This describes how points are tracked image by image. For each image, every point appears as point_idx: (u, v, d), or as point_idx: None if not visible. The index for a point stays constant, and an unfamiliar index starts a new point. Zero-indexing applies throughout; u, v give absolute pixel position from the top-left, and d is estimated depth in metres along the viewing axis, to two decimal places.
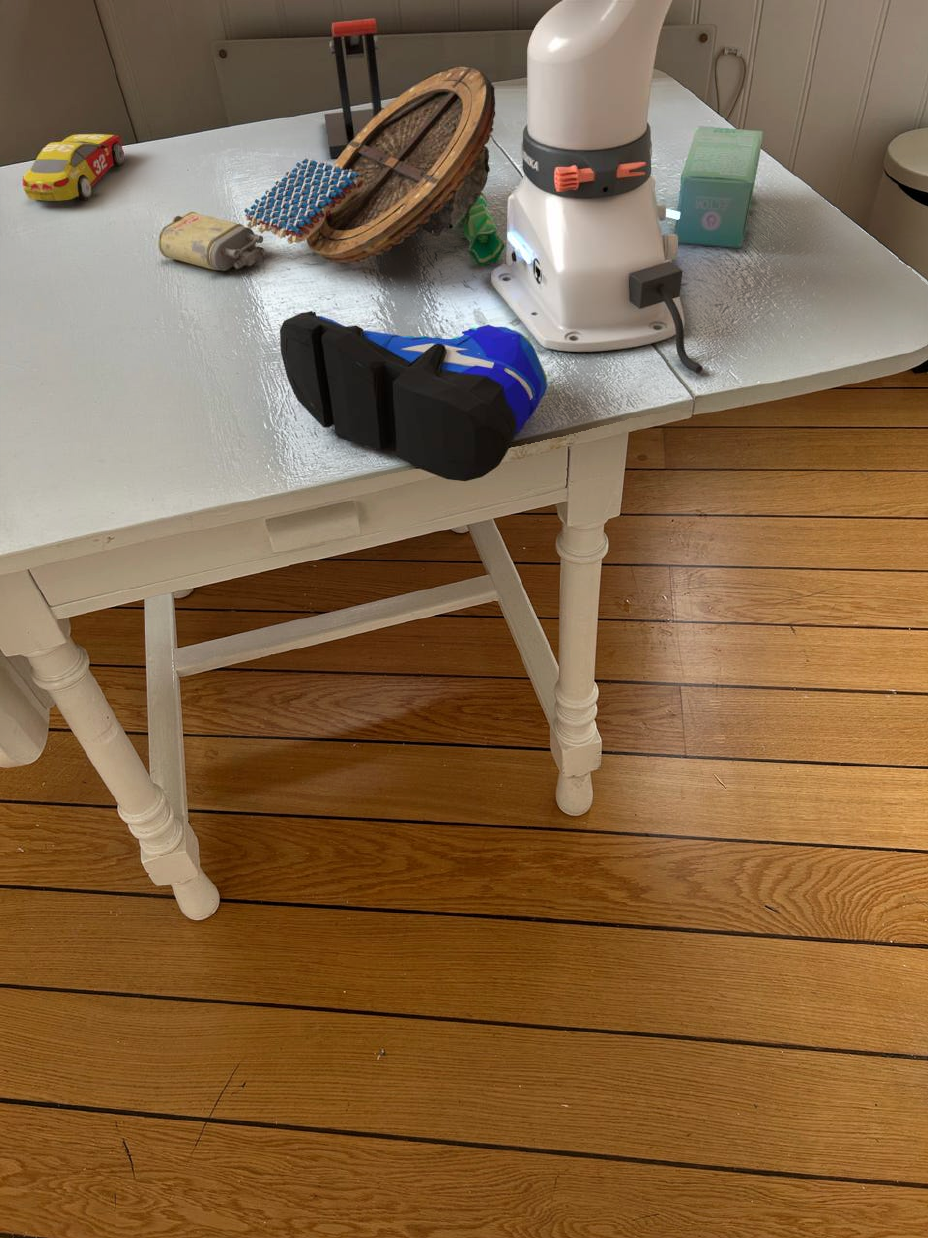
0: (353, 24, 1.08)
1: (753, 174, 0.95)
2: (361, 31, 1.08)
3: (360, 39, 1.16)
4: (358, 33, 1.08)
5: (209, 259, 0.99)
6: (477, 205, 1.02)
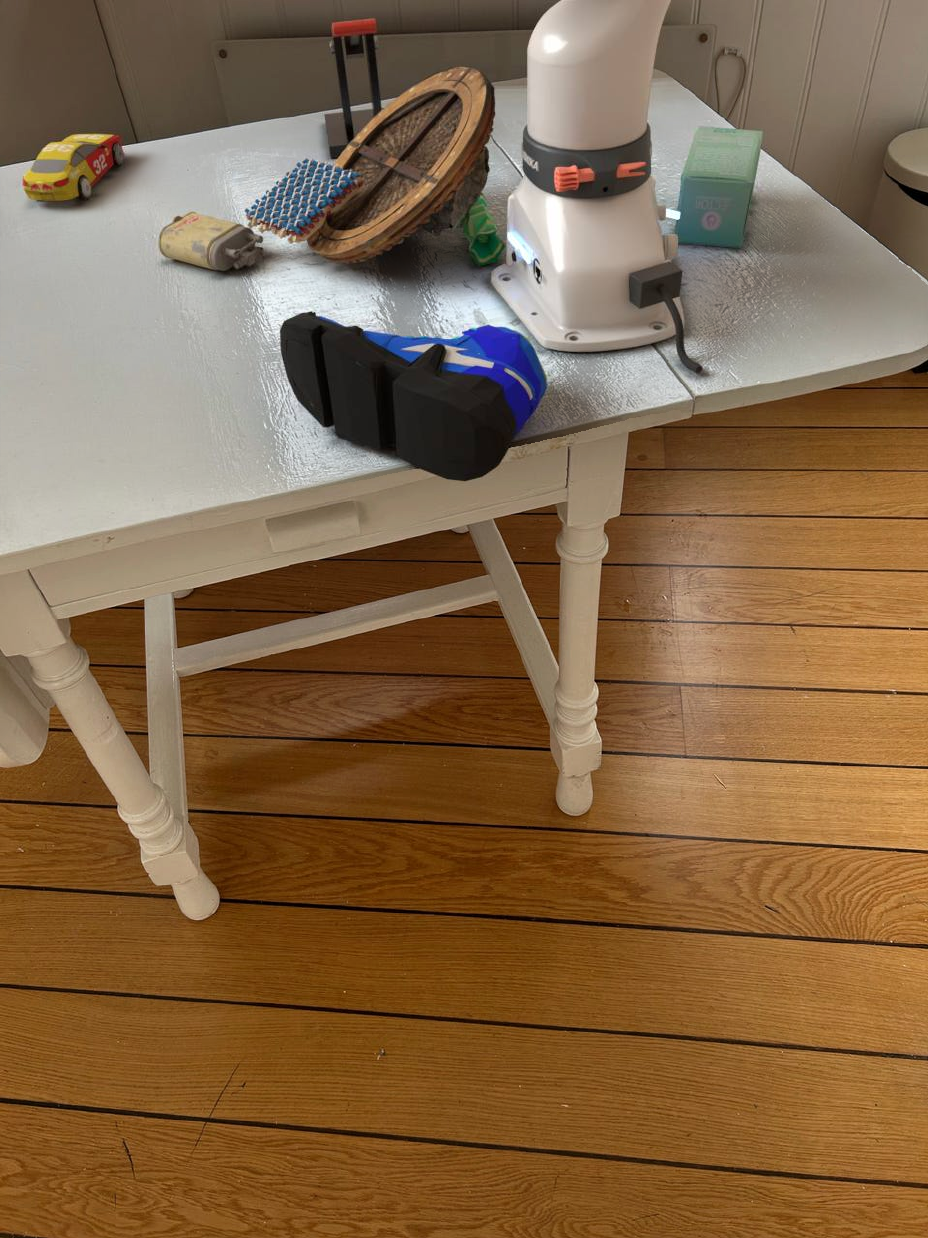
0: (353, 24, 1.08)
1: (753, 174, 0.95)
2: (361, 31, 1.08)
3: (360, 39, 1.16)
4: (358, 33, 1.08)
5: (209, 259, 0.99)
6: (477, 205, 1.02)
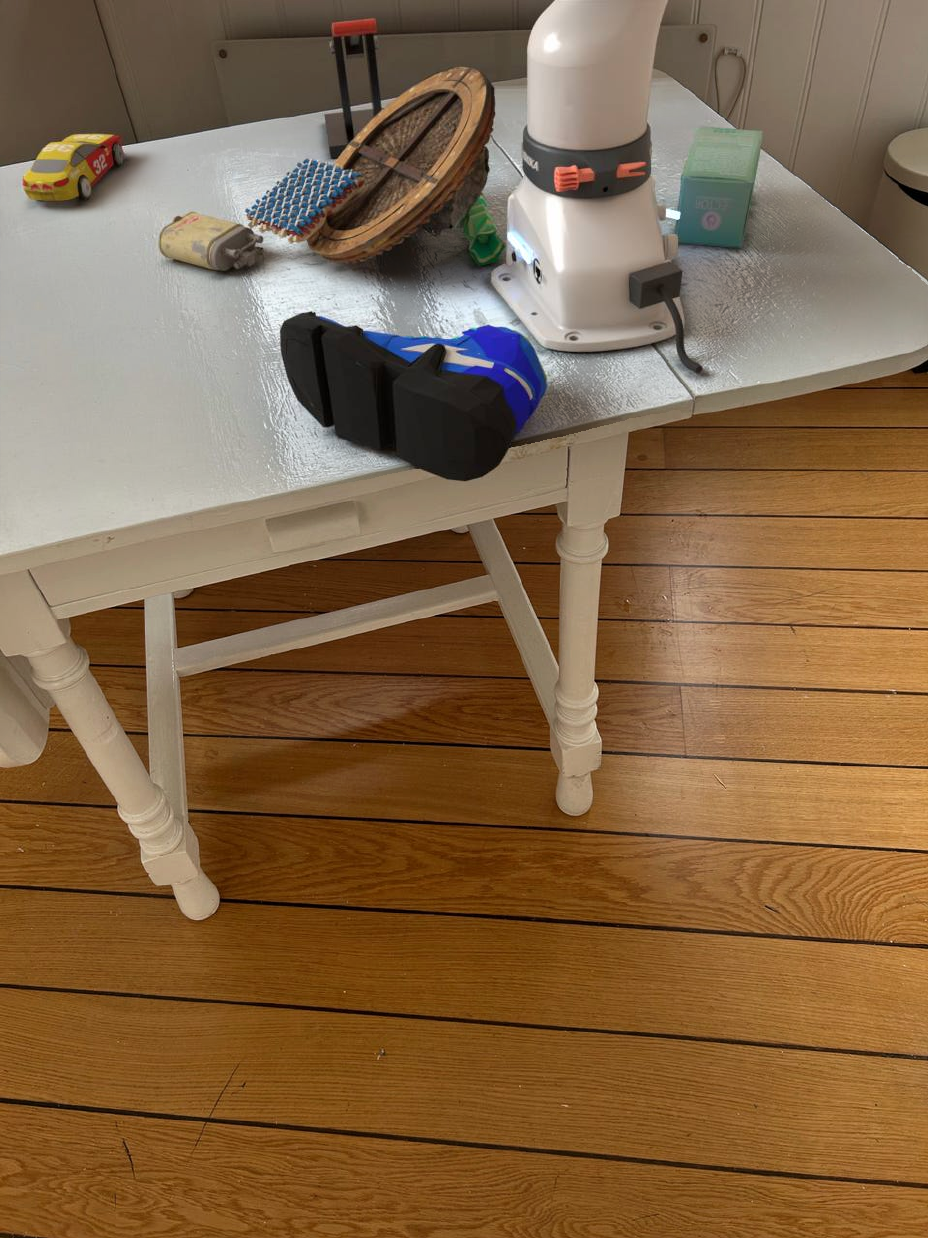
0: (353, 24, 1.08)
1: (753, 174, 0.95)
2: (361, 31, 1.08)
3: (360, 39, 1.16)
4: (358, 33, 1.08)
5: (209, 259, 0.99)
6: (477, 205, 1.02)
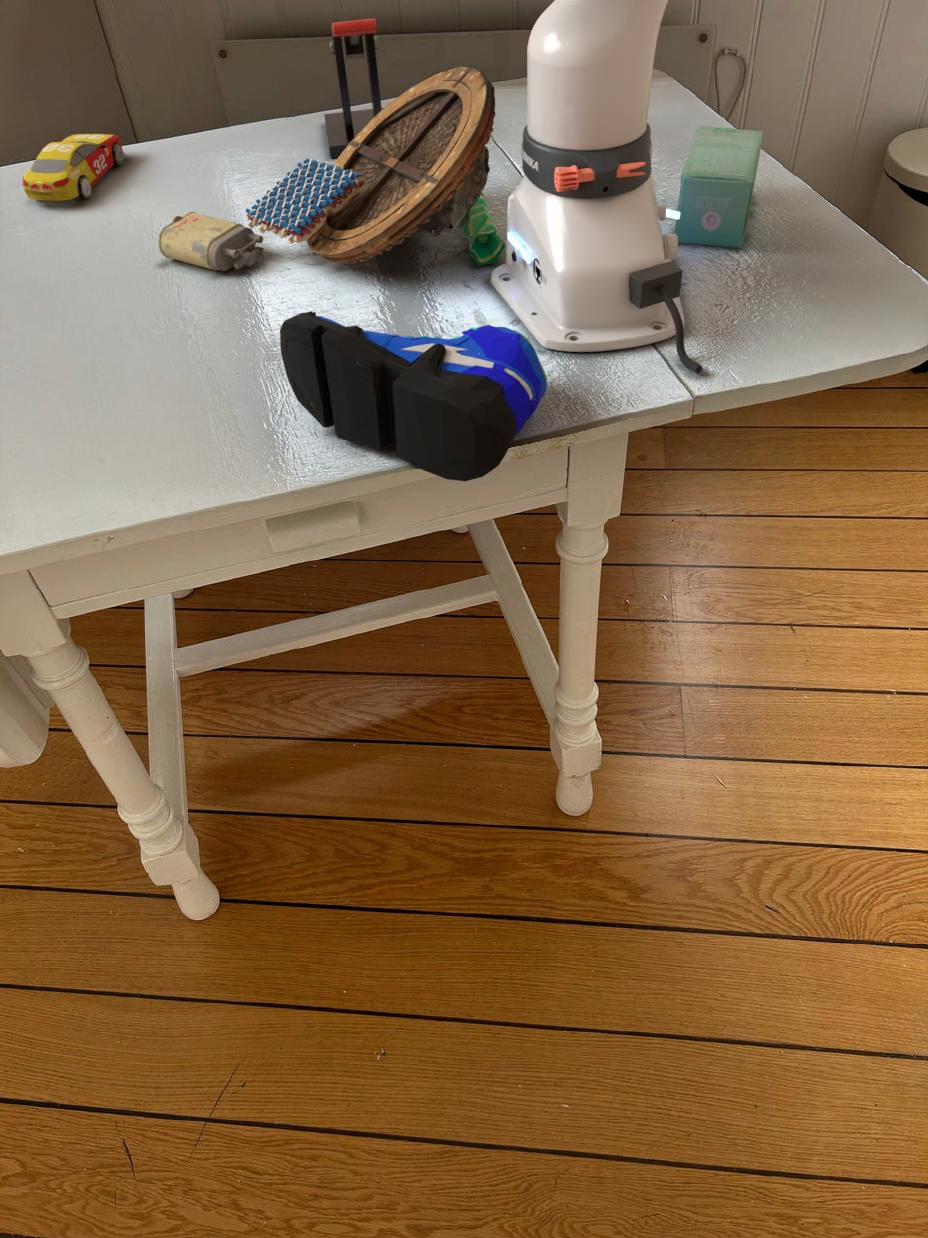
0: (353, 24, 1.08)
1: (753, 174, 0.95)
2: (361, 31, 1.08)
3: (360, 39, 1.16)
4: (358, 33, 1.08)
5: (209, 259, 0.99)
6: (477, 205, 1.02)
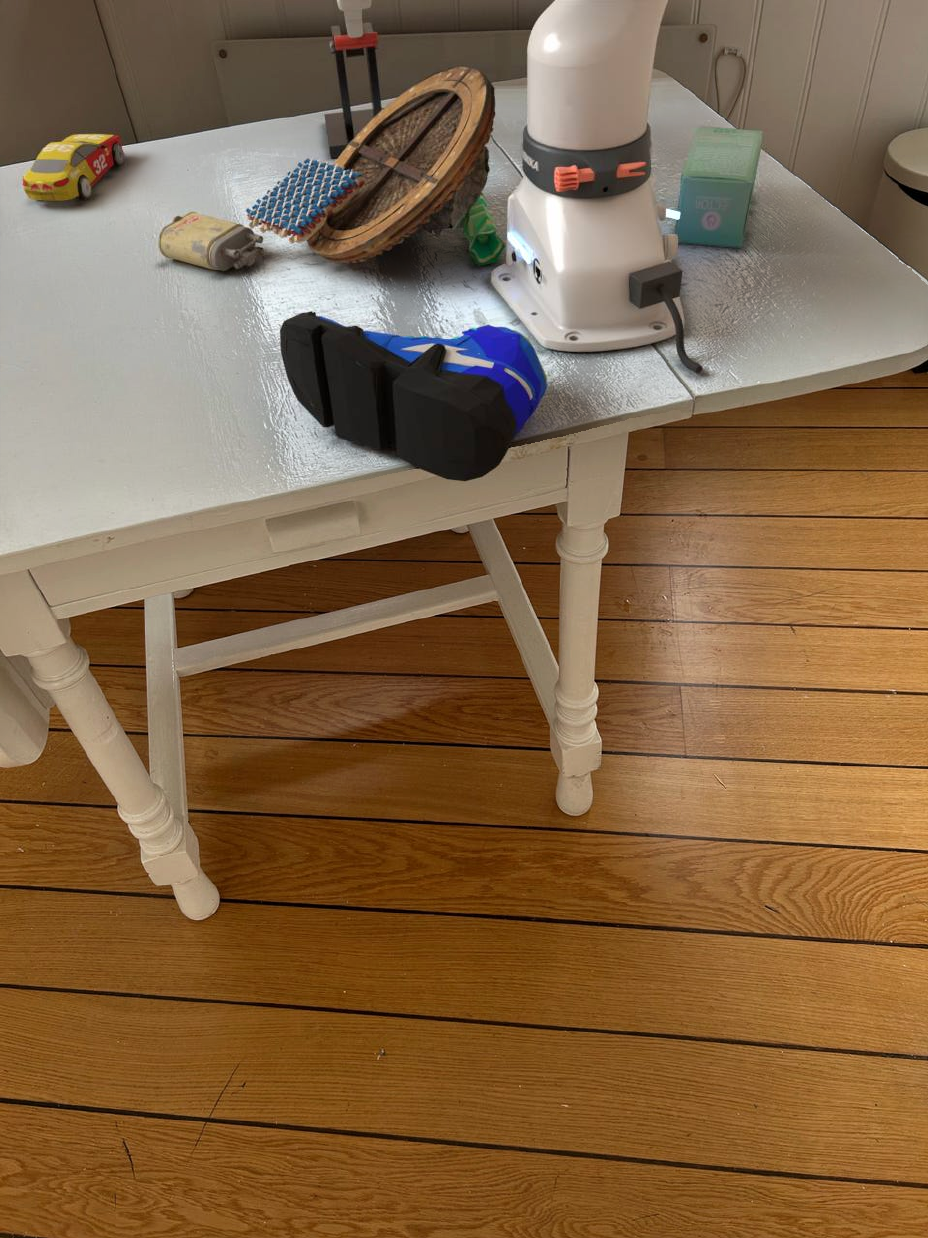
0: (355, 38, 1.08)
1: (753, 174, 0.95)
2: (363, 45, 1.09)
3: None
4: (360, 47, 1.09)
5: (209, 259, 0.99)
6: (477, 205, 1.02)
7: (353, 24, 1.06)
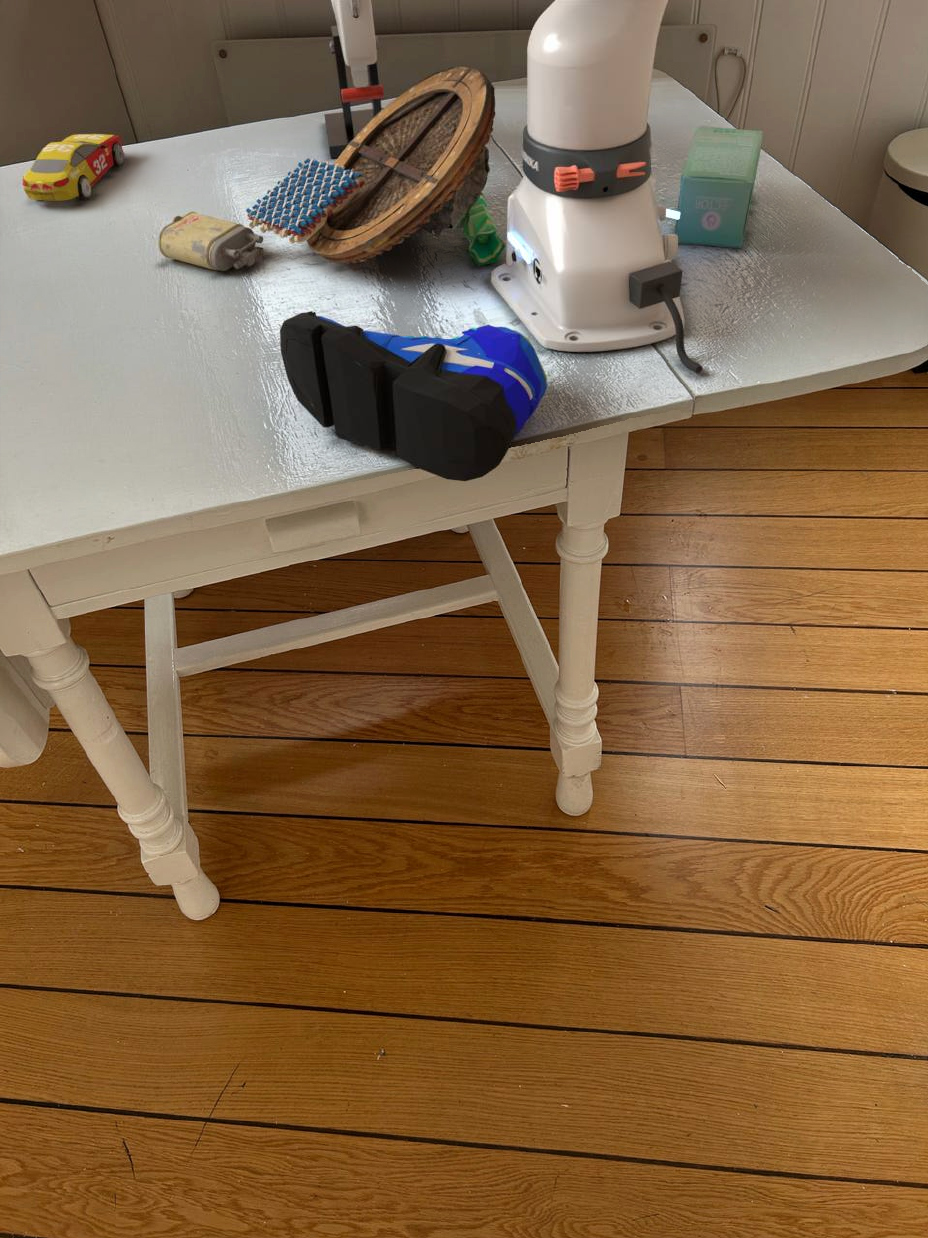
0: (362, 95, 1.13)
1: (753, 174, 0.95)
2: (369, 99, 1.13)
3: None
4: (366, 99, 1.14)
5: (209, 259, 0.99)
6: (477, 205, 1.02)
7: (358, 75, 1.11)
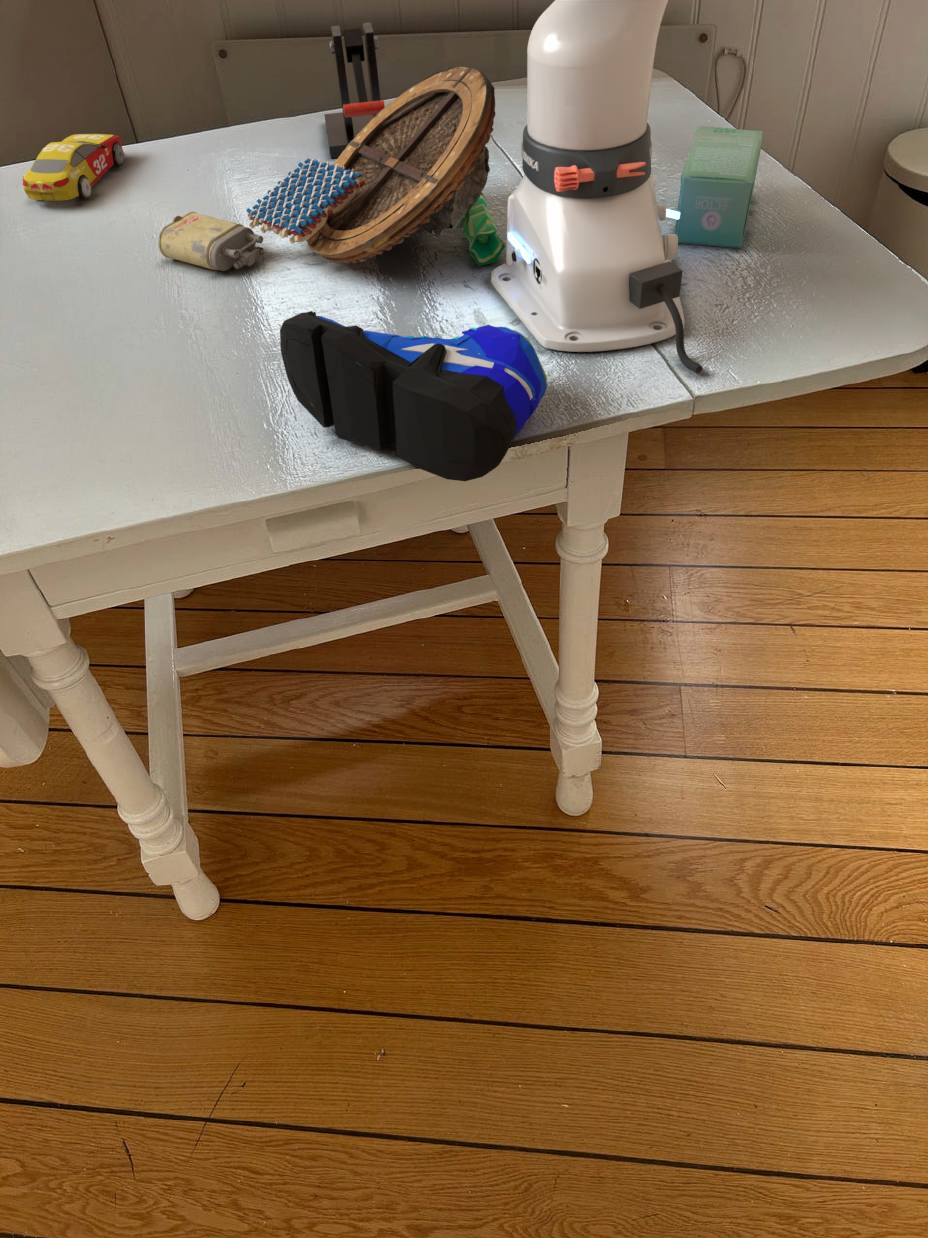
0: (364, 111, 1.15)
1: (753, 174, 0.95)
2: (370, 114, 1.15)
3: (361, 51, 1.17)
4: (367, 114, 1.16)
5: (209, 259, 0.99)
6: (477, 205, 1.02)
7: None
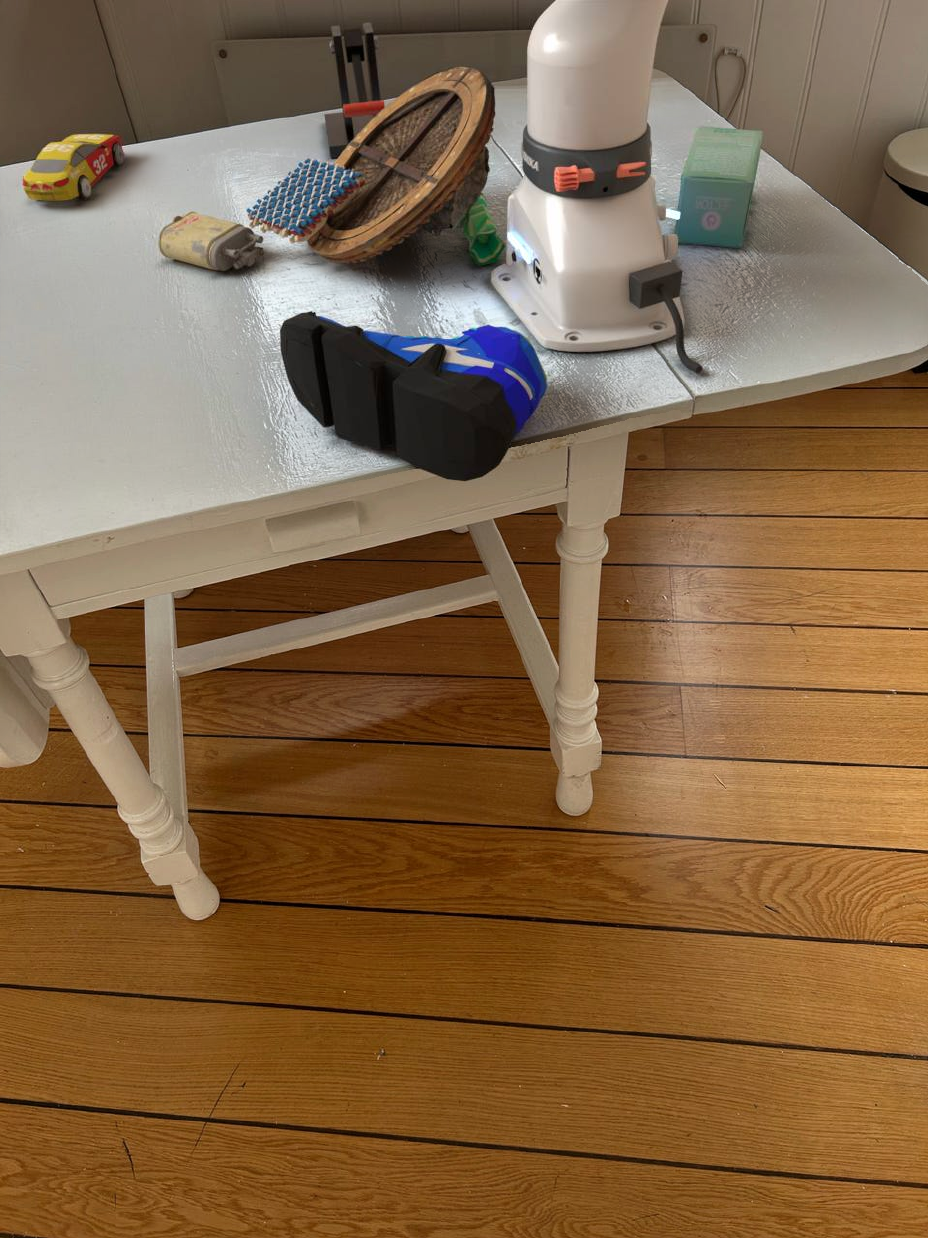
0: (364, 111, 1.15)
1: (753, 174, 0.95)
2: (370, 114, 1.15)
3: (361, 51, 1.17)
4: (367, 114, 1.16)
5: (209, 259, 0.99)
6: (477, 205, 1.02)
7: None
